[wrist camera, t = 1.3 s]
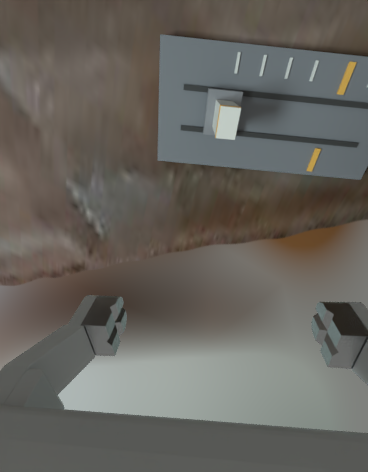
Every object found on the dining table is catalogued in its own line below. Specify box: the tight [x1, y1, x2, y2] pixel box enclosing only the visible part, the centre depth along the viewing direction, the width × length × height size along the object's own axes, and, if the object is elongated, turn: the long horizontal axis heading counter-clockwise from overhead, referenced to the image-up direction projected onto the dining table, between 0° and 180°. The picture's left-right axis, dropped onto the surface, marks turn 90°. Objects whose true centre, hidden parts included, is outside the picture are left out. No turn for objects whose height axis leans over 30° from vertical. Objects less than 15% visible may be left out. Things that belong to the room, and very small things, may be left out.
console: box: [158, 34, 368, 180], centre depth 31 cm, size 14×30×2 cm, turn 85°
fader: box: [203, 88, 243, 140], centre depth 27 cm, size 5×4×8 cm
